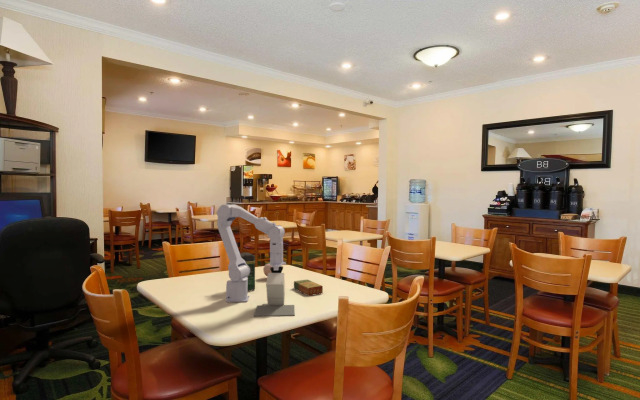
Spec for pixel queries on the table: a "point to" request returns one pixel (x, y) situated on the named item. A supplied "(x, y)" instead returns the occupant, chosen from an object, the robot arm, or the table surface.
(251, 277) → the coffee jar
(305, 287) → the carton
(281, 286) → the supplement box
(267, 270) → the decorative fruit
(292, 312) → the mat
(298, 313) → the table surface
